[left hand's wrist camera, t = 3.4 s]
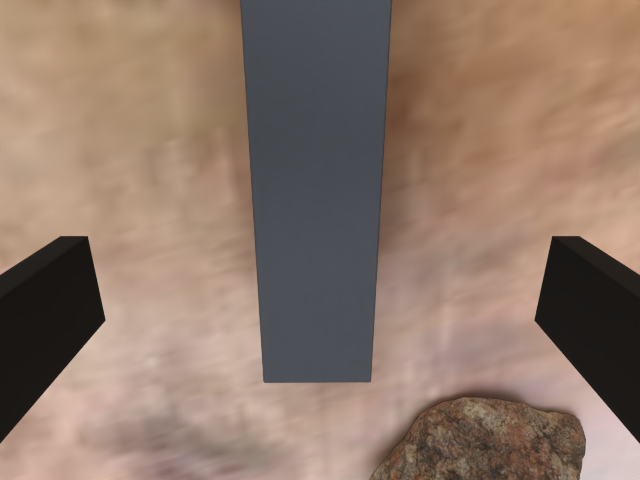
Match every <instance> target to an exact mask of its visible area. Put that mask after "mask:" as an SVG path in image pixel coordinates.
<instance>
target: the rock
mask: <svg viewBox="0 0 640 480" xmlns="http://www.w3.org/2000/svg"><path fill="white" fill-rule="evenodd" d="M585 445H586V438H585V435H584V431H583V428H582V426H581V424H580V420H579V419H578V418H576V417H575V416H574V415H569V414H563V413H558V412H548V413H546V412H544V411H540V410H536V409H534V408H532V407H530V406H528V405H526V404H525V403H524V402H521V403H517V402H510V401H505V400H500V399H492V398H488V399H486V398H469V397H463V398H460V399H456V400H451V401H446V402H442V403H440V404H438V405H435V406H434V407H432V408H430V409H428V410H426V411H424V412H423V413H422V414H420V416H419V417H418V418H417V419H416V420H415V422H414V423H413V425H412V427H411V428H410V430H409V431H408V433H407V435H406V437H405V438H404V439H403V440H402V441H401V442H400V443H399V444H398V445H397V446H396V447H395V448H394V449H393V451H392V452H391V454H390V455H389V456H388V457H387V458H386V459H385V460H384V461H383V462H382V463H381V464H380V466H379V467H378V468H377V469H376V470H375V471H374V473H373V474H372V476H371V477H370V480H579V479H580V473H581V468H582V459H583V457H584V455H585Z"/></svg>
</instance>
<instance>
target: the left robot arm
mask: <svg viewBox="0 0 640 480" xmlns="http://www.w3.org/2000/svg"><path fill="white" fill-rule="evenodd" d="M104 322H105V315H104V311H103V306H102V301H101V297H100V292H99V287H98V282H97V278H96V273H95V268H94V264H93V259H92V254H91V249H90V245H89V240H88V236H60V237H59V238H57V239H56V240H54V241H52V242H51V243H49V244H48V245H46V246H45V247H43V248H42V249H40V250H38V251H37V252H35V253H34V254H32V255H31V256H29V257H28V258H26V259H24V260H23V261H21V262H20V263H18V264H17V265H15V266H14V267H12V268H10V269H9V270H7V271H6V272H4V273H3V274H1V275H0V443H1V442H2V441H3V440H4V438H5V437H6V436H7V435H8V434H9V433H10V431H11V430H12V429H13V428H14V427H15V426H16V424H17V423H18V422H19V421H20V420H21V419H22V417H23V416H24V415H25V414H26V413H27V412H28V410H29V409H30V408H31V407H32V406H33V405H34V403H35V402H36V401H37V400H38V399H39V398H40V396H41V395H42V394H43V393H44V392H45V391H46V389H47V388H48V387H49V386H50V385H51V384H52V382H53V381H54V380H55V379H56V378H57V377H58V375H59V374H60V373H61V372H62V371H63V369H64V368H65V367H66V366H67V365H68V364H69V362H70V361H71V360H72V359H73V358H74V357H75V355H76V354H77V353H78V352H79V351H80V350H81V348H82V347H83V346H84V345H85V344H86V343H87V341H88V340H89V339H90V338H91V337H92V336H93V334H94V333H95V332H96V331H97V330H98V329H99V327H100V326H101V325H102V324H103V323H104ZM535 322H536V323H537V324H538V325H539V326H540V327H541V329H542V330H543V331H544V332H545V333H546V334H547V336H548V337H549V338H550V339H551V340H552V341H553V343H554V344H555V345H556V346H557V347H558V348H559V350H560V351H561V352H562V353H563V354H564V355H565V357H566V358H567V359H568V360H569V361H570V362H571V364H572V365H573V366H574V367H575V368H576V369H577V371H578V372H579V373H580V374H581V375H582V377H583V378H584V379H585V380H586V381H587V382H588V384H589V385H590V386H591V387H592V388H593V389H594V391H595V392H596V393H597V394H598V395H599V396H600V398H601V399H602V400H603V401H604V402H605V403H606V405H607V406H608V407H609V408H610V409H611V410H612V412H613V413H614V414H615V415H616V416H617V417H618V419H619V420H620V421H621V422H622V423H623V424H624V426H625V427H626V428H627V429H628V430H629V431H630V433H631V434H632V435H633V436H634V437H635V438H636V440H637V441H638V442H639V443H640V275H639V274H637V273H636V272H634V271H633V270H631V269H630V268H628V267H626V266H625V265H623V264H622V263H620V262H619V261H617V260H616V259H614V258H612V257H611V256H609V255H608V254H606V253H605V252H603V251H602V250H600V249H598V248H597V247H595V246H594V245H592V244H591V243H589V242H588V241H586V240H584V239H583V238H581V237H580V236H552V240H551V245H550V249H549V254H548V259H547V264H546V268H545V273H544V278H543V282H542V287H541V292H540V297H539V301H538V306H537V311H536V315H535Z"/></svg>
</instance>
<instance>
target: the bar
mask: <svg viewBox="0 0 640 480" xmlns="http://www.w3.org/2000/svg"><path fill="white" fill-rule="evenodd" d="M240 5H241V21H242V38H243V54H244V70H245V87H246V103H247V119H248V136H249V152H250V168H251V184H252V201H253V217H254V233H255V250H256V266H257V282H258V299H259V315H260V331H261V348H262V364H263V380H264V382H265V383H309V382H371V371H372V353H373V335H374V317H375V299H376V281H377V263H378V245H379V227H380V209H381V191H382V173H383V155H384V137H385V119H386V100H387V82H388V64H389V46H390V28H391V10H392V0H240Z"/></svg>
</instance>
